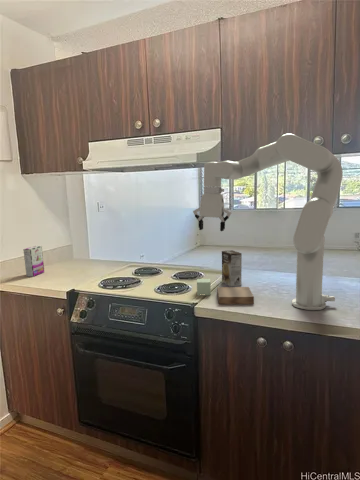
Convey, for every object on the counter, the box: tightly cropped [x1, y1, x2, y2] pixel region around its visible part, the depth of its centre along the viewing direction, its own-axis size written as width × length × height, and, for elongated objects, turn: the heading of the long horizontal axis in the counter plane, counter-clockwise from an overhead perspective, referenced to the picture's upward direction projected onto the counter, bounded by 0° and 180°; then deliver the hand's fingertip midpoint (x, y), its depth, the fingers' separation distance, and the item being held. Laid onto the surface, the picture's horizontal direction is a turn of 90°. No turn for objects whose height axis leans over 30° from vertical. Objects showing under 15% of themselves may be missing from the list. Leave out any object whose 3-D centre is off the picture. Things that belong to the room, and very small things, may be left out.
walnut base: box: [216, 286, 255, 305], centre depth 140 cm, size 14×14×3 cm
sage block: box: [196, 278, 212, 296], centre depth 148 cm, size 6×6×6 cm
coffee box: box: [221, 250, 243, 287], centre depth 161 cm, size 9×6×16 cm
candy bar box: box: [23, 245, 45, 278], centre depth 193 cm, size 11×5×16 cm, turn 170°
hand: (211, 230), depth 145 cm, fingers open, 9 cm apart
